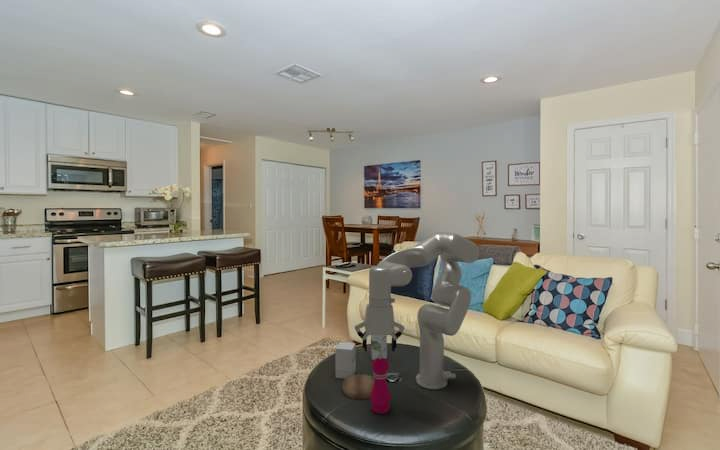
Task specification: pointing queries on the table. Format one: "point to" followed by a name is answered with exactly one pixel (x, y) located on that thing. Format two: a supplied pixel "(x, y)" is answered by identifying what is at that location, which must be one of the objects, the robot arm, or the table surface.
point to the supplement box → (345, 360)
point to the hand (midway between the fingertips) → (379, 350)
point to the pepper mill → (380, 386)
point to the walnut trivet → (358, 386)
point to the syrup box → (378, 346)
